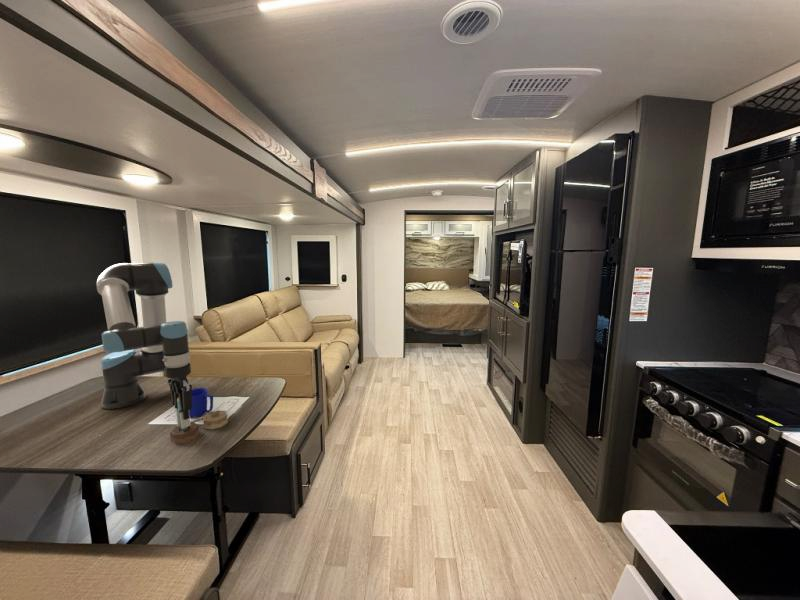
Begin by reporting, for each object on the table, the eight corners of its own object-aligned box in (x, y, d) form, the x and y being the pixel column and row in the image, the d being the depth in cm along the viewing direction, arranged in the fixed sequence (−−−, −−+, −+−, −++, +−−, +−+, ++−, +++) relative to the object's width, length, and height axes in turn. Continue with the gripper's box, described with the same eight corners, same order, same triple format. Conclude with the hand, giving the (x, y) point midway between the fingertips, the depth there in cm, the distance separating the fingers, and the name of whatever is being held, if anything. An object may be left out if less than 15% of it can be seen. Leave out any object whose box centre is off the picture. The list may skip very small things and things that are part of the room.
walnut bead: (168, 438, 114) (167, 430, 114) (191, 428, 121) (191, 420, 120) (178, 446, 110) (177, 436, 110) (202, 435, 117) (201, 426, 116)
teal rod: (180, 437, 115) (175, 396, 113) (187, 434, 117) (183, 394, 115) (183, 440, 114) (178, 398, 111) (190, 436, 116) (186, 395, 113)
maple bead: (199, 428, 121) (198, 419, 121) (214, 417, 129) (213, 409, 129) (217, 430, 120) (216, 421, 120) (231, 419, 128) (231, 411, 127)
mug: (206, 421, 126) (203, 398, 125) (181, 418, 129) (178, 395, 127) (221, 411, 134) (219, 389, 133) (197, 408, 137) (195, 387, 135)
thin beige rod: (174, 429, 120) (174, 428, 120) (173, 429, 121) (173, 427, 120) (213, 414, 132) (213, 412, 132) (212, 413, 133) (212, 411, 132)
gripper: (156, 363, 112) (163, 423, 116) (175, 372, 104) (182, 436, 107) (179, 357, 119) (185, 415, 122) (199, 365, 110) (205, 426, 114)
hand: (184, 425), depth 115 cm, fingers closed on teal rod, 2 cm apart
